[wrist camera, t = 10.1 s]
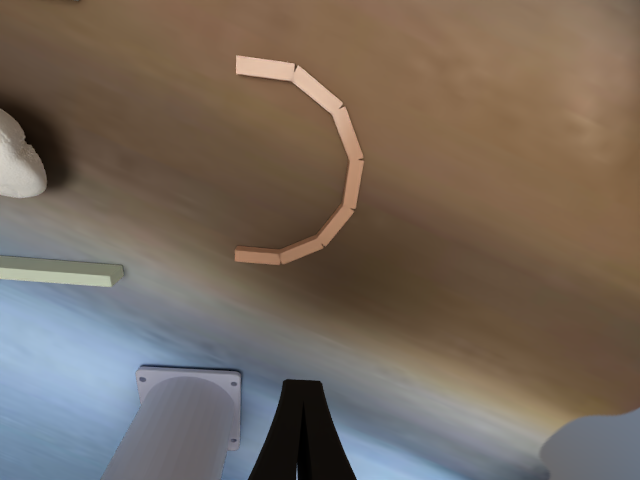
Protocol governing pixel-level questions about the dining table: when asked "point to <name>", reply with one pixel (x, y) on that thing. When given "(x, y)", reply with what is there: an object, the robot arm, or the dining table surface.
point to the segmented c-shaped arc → (350, 144)
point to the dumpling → (18, 162)
